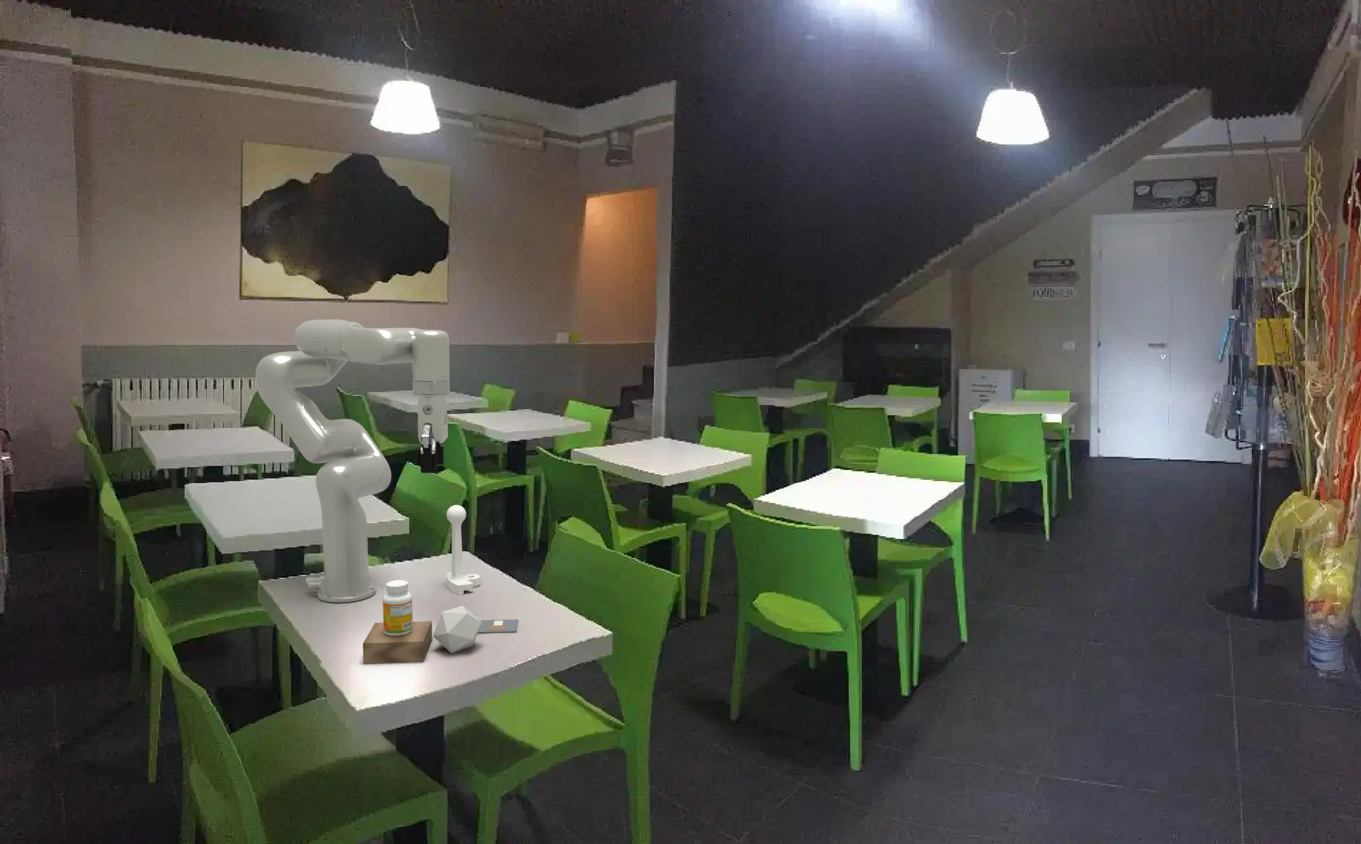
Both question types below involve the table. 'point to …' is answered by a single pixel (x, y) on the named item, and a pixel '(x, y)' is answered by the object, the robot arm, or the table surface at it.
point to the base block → (397, 644)
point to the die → (457, 629)
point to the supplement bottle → (397, 609)
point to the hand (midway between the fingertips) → (432, 468)
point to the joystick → (458, 555)
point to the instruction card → (498, 626)
